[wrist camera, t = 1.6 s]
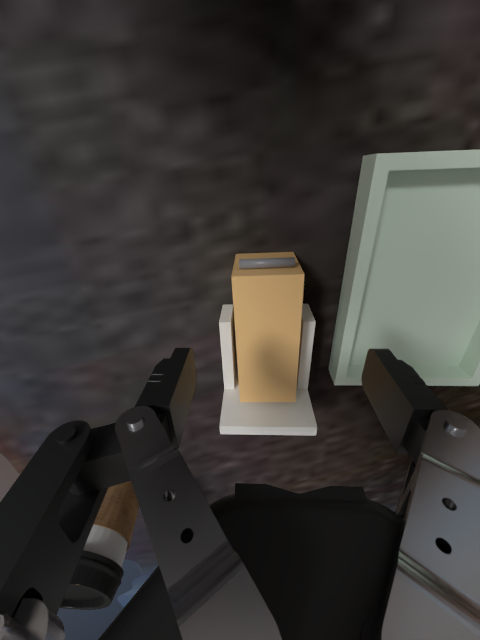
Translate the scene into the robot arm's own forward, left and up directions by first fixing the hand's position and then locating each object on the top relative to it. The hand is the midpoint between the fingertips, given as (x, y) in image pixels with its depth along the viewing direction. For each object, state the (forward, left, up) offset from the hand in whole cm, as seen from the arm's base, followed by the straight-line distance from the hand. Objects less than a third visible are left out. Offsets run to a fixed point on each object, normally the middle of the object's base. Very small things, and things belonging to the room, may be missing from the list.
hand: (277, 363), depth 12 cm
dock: (+7, 0, -13) cm, 15 cm away
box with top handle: (+4, 0, -14) cm, 14 cm away
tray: (+1, +14, -13) cm, 19 cm away
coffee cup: (+27, -19, -14) cm, 36 cm away
